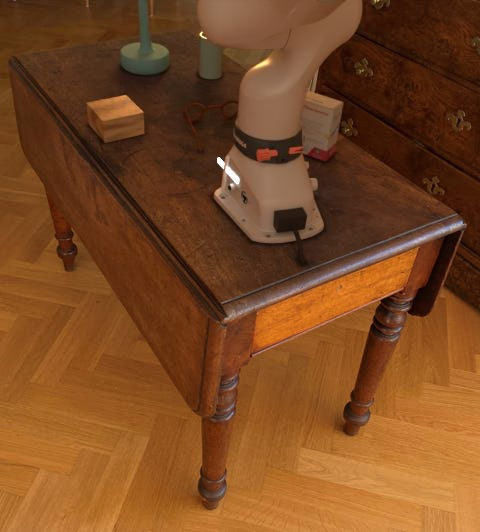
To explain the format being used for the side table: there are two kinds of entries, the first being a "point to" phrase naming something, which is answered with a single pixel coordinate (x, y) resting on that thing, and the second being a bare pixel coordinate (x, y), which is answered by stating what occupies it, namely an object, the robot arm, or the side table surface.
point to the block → (115, 118)
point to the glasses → (203, 114)
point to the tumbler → (209, 59)
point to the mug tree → (144, 49)
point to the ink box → (320, 125)
